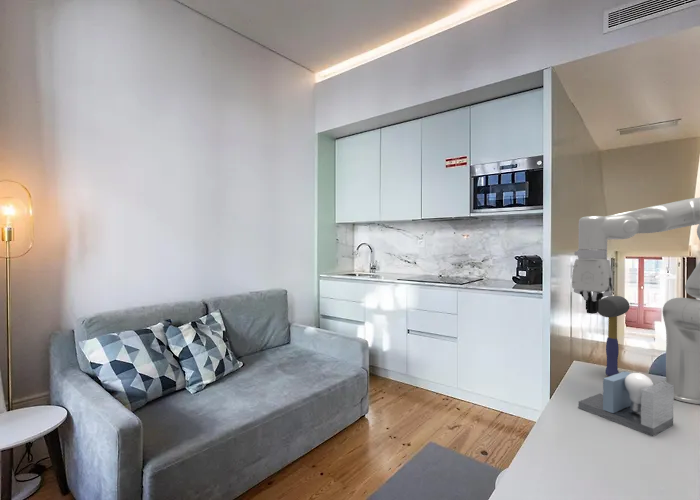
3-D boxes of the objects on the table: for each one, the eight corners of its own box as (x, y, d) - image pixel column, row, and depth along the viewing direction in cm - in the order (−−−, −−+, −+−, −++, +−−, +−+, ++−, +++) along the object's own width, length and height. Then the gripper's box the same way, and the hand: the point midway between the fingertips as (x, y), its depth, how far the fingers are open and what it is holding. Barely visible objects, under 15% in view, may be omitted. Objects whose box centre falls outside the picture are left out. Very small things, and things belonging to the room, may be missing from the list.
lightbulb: (642, 420, 95) (648, 380, 94) (616, 408, 100) (621, 370, 99) (654, 415, 98) (660, 376, 96) (628, 403, 103) (633, 367, 102)
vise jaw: (624, 400, 106) (624, 371, 106) (634, 404, 103) (634, 374, 103) (603, 409, 100) (603, 378, 100) (613, 413, 98) (613, 381, 98)
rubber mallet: (617, 384, 124) (618, 298, 124) (593, 377, 130) (593, 296, 130) (630, 377, 131) (631, 296, 131) (607, 371, 137) (607, 293, 137)
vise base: (599, 399, 111) (600, 364, 111) (673, 425, 96) (673, 384, 96) (578, 408, 106) (578, 371, 106) (652, 436, 90) (653, 393, 90)
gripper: (561, 254, 117) (561, 310, 117) (613, 255, 104) (612, 318, 104) (574, 254, 121) (574, 308, 121) (625, 255, 108) (625, 316, 108)
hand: (591, 312), depth 112 cm, fingers closed
